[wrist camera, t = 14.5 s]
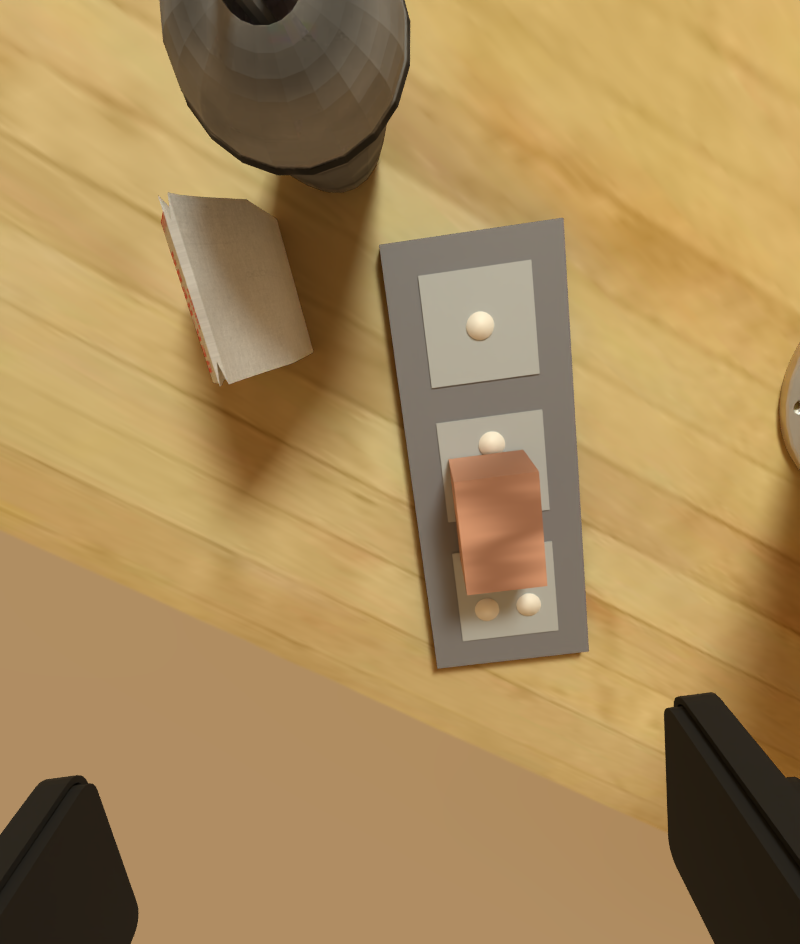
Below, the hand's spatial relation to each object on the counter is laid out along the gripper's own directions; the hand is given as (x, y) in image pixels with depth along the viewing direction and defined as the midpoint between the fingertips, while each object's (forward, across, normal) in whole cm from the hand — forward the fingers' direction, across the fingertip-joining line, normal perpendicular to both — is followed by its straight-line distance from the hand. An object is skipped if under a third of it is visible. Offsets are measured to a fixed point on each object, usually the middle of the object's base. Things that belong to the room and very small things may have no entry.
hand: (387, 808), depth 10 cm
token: (+21, -5, +1) cm, 22 cm away
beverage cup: (+24, 0, -16) cm, 29 cm away
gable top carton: (+25, +6, -9) cm, 27 cm away
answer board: (+24, -5, +1) cm, 25 cm away
